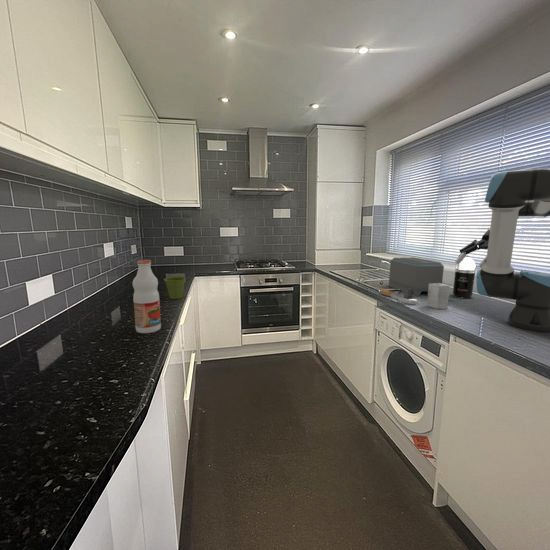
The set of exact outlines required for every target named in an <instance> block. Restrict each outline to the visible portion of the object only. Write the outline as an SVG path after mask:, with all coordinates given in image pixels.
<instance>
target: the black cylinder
mask: <svg viewBox="0 0 550 550" xmlns="http://www.w3.org/2000/svg"><path fill="white" fill-rule="evenodd" d="M476 270H477V263H476V261H475V260H474V258H472V257H471V256H470V255H469V254H467V255H466V257H465V258H464V259H463V260H462V261H461V263H460V264H459V265H457V263H456V262H455V270H454V279H453V288H452V289H453V290H452V295H453V297H455V296H456V298H459V297H463V298H462V299H470V298H472V297H473V291H474V284H475V278H476V277H475V276H476Z"/></svg>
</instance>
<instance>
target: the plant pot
mask: <svg viewBox="0 0 550 550" xmlns="http://www.w3.org/2000/svg"><path fill="white" fill-rule="evenodd" d="M186 280H187V278H186V277H184V276H171V277H166V278H164V279H163V281H164V282H165V285H166V288H167V292H168V295H169V299H170V300H176V299H177V300H180V299H183V297H184V290H185V289H184V288H185V282H186Z"/></svg>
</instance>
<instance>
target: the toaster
mask: <svg viewBox="0 0 550 550" xmlns="http://www.w3.org/2000/svg"><path fill="white" fill-rule="evenodd" d="M389 263H390V265H389V275H388V287H390V288H392V289H395V290H397V289H400V290H401V291H400V290H399V291H400V292H403V293H404V289H412V290H413V297H419V296H420V295H421V293H423V292H424V293H425V292H426V293H428V287H429V284H431V283H441V284H443V280H444V279H443V278H444V270H445V269H444V264H443V263H442V262H441V261H436V260H430V259H424V258H419V257H418V258H417V257H414V256H413V257H412V256H411V257H393V258H392V259H391V260H390V262H389Z"/></svg>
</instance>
